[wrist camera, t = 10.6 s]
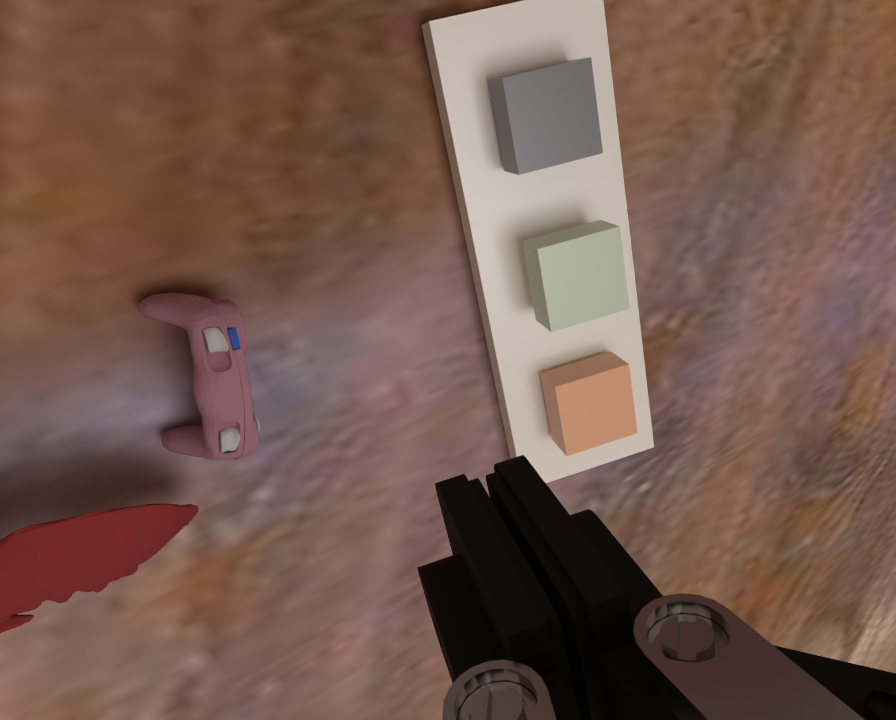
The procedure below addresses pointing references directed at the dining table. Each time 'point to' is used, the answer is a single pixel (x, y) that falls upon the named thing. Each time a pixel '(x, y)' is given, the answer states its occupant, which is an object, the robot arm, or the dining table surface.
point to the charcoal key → (546, 116)
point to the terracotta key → (589, 402)
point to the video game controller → (211, 376)
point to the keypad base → (533, 213)
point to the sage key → (576, 274)
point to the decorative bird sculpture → (80, 554)
